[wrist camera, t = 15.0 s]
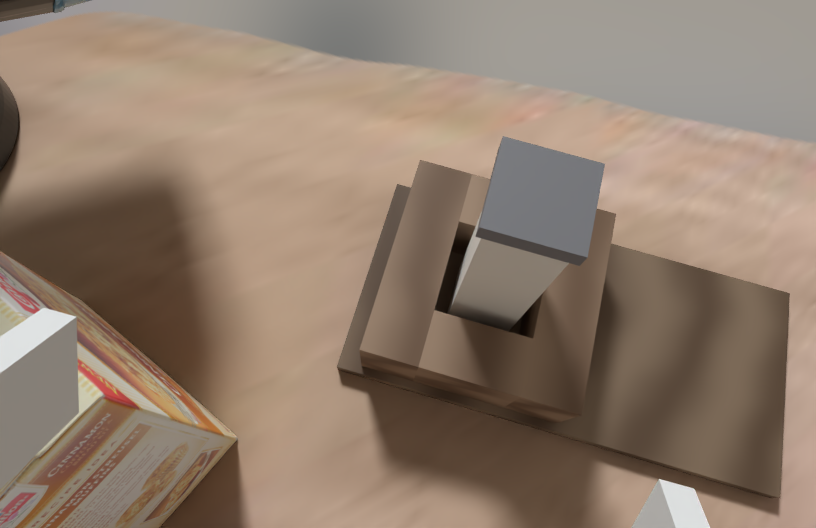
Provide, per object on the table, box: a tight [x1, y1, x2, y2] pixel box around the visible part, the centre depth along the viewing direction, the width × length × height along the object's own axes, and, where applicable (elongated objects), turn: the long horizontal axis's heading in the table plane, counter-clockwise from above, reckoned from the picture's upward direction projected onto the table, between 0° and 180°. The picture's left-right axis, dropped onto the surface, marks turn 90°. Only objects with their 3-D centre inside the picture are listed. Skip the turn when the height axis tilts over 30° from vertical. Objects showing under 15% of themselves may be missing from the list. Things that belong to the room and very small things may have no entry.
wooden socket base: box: [337, 160, 790, 498], centre depth 37 cm, size 29×14×6 cm, turn 74°
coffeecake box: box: [0, 251, 237, 528], centre depth 28 cm, size 15×7×20 cm, turn 52°
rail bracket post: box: [447, 136, 605, 331], centre depth 32 cm, size 5×5×16 cm
